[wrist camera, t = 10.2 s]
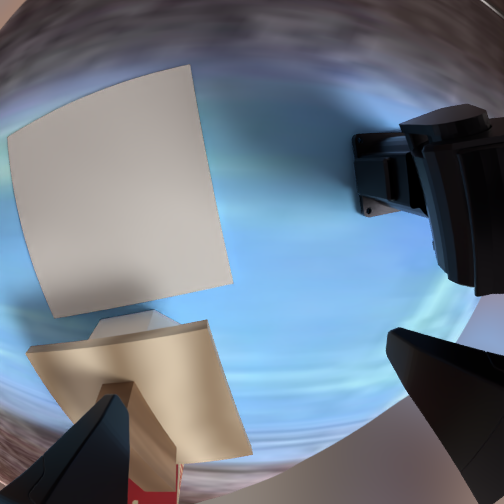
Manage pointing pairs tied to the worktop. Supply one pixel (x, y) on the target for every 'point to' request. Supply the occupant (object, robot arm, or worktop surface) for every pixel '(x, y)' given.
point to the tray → (119, 197)
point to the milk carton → (142, 500)
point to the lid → (152, 395)
